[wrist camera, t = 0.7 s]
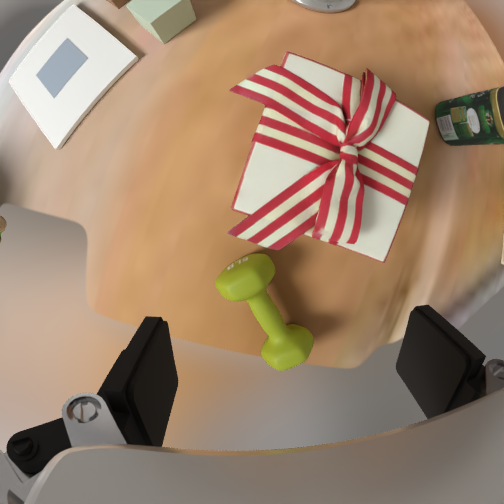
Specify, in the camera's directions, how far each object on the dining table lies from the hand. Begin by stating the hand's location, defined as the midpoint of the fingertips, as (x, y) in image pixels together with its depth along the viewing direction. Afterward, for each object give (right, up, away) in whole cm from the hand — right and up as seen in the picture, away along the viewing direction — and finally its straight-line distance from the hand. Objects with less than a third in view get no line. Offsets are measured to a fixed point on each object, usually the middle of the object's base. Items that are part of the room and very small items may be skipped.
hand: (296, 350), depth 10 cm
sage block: (-14, +37, +19) cm, 44 cm away
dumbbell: (0, -4, +31) cm, 32 cm away
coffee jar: (+32, +25, +24) cm, 47 cm away
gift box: (+4, +15, +26) cm, 30 cm away
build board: (-32, +33, +20) cm, 50 cm away
